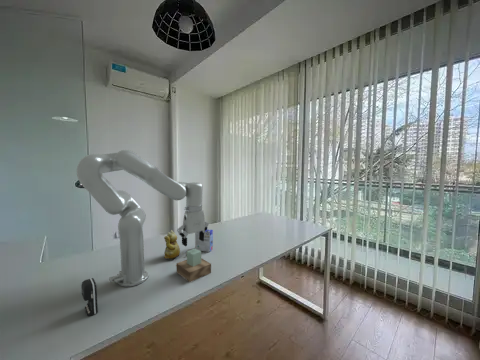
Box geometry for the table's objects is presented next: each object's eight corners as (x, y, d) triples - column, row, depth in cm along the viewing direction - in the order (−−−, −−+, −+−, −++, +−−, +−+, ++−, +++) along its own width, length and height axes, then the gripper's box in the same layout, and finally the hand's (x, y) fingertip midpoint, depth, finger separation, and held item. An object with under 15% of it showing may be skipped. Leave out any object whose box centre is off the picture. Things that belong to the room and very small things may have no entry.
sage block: (193, 266, 103) (192, 254, 102) (186, 263, 106) (186, 251, 105) (201, 263, 106) (201, 251, 106) (195, 259, 110) (194, 248, 109)
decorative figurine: (168, 253, 127) (167, 228, 126) (182, 253, 127) (181, 228, 126) (162, 261, 118) (161, 234, 116) (177, 261, 118) (177, 234, 116)
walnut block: (189, 283, 98) (189, 272, 97) (176, 273, 106) (176, 263, 106) (211, 273, 106) (211, 263, 106) (197, 264, 115) (197, 255, 114)
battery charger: (82, 308, 80) (80, 279, 79) (94, 304, 82) (92, 275, 81) (85, 319, 75) (83, 287, 74) (98, 313, 77) (96, 283, 76)
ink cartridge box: (213, 248, 135) (213, 226, 133) (210, 252, 129) (210, 228, 128) (198, 247, 137) (198, 224, 135) (194, 250, 131) (194, 227, 130)
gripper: (182, 212, 95) (181, 249, 97) (213, 207, 108) (212, 240, 109) (173, 209, 100) (173, 244, 102) (204, 204, 113) (203, 236, 114)
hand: (193, 242), depth 106 cm, fingers open, 9 cm apart
